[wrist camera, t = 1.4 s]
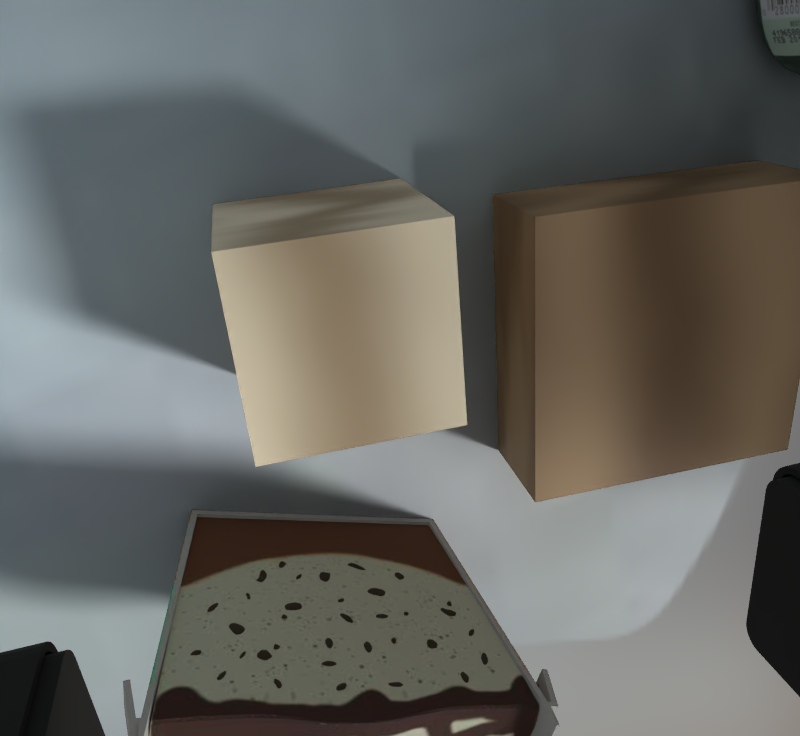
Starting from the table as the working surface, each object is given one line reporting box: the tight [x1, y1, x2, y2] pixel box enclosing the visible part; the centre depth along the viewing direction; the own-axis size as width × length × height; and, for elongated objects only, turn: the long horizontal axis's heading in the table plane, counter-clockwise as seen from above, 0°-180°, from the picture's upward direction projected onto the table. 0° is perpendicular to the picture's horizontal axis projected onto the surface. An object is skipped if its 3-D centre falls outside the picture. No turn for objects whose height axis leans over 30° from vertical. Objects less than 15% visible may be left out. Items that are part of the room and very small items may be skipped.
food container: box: [123, 510, 559, 736], centre depth 24 cm, size 12×6×10 cm, turn 77°
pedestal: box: [493, 161, 800, 502], centre depth 26 cm, size 10×10×4 cm
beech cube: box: [211, 179, 467, 467], centre depth 22 cm, size 6×6×6 cm
